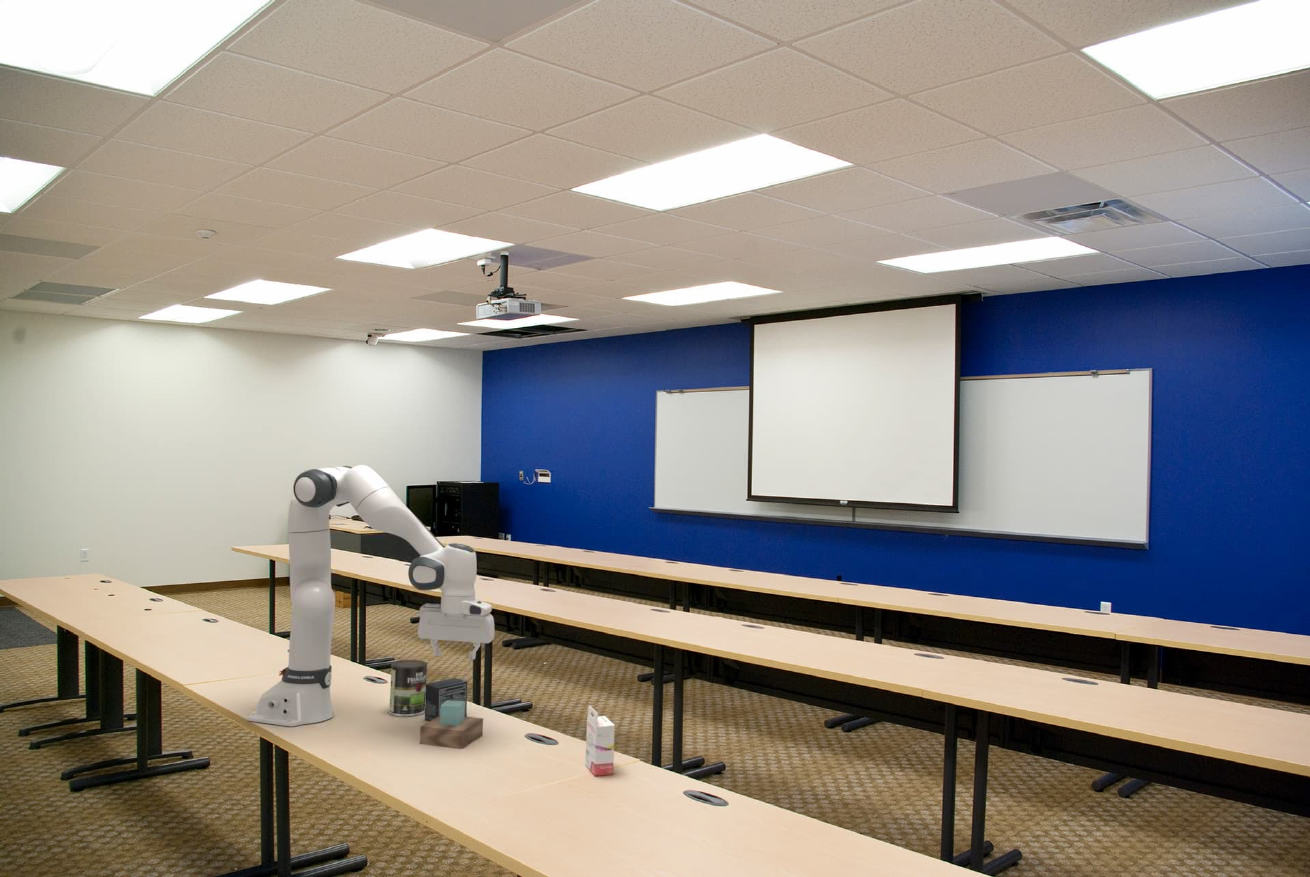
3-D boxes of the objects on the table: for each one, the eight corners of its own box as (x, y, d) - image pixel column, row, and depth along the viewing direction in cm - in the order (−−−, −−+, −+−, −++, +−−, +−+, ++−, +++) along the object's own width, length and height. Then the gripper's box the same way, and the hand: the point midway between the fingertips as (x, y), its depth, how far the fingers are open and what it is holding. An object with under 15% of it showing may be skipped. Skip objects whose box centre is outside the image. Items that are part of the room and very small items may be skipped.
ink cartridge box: (614, 774, 204) (616, 712, 204) (594, 776, 202) (596, 714, 203) (603, 763, 212) (605, 703, 212) (584, 764, 210) (586, 704, 211)
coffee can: (432, 711, 251) (434, 663, 251) (403, 719, 243) (405, 669, 243) (410, 705, 257) (412, 658, 258) (381, 712, 249) (383, 663, 249)
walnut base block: (419, 745, 222) (420, 726, 222) (442, 732, 233) (442, 713, 233) (461, 750, 219) (462, 731, 219) (482, 737, 230) (483, 718, 230)
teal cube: (439, 724, 223) (440, 705, 224) (445, 719, 228) (446, 700, 229) (458, 725, 223) (459, 706, 223) (464, 720, 228) (465, 701, 228)
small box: (453, 712, 251) (454, 676, 251) (467, 717, 247) (469, 680, 247) (423, 720, 242) (424, 682, 243) (437, 725, 238) (438, 687, 239)
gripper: (415, 604, 225) (412, 657, 225) (491, 609, 223) (487, 662, 223) (424, 601, 231) (421, 652, 231) (497, 606, 229) (494, 657, 229)
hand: (454, 657), depth 227 cm, fingers open, 8 cm apart
